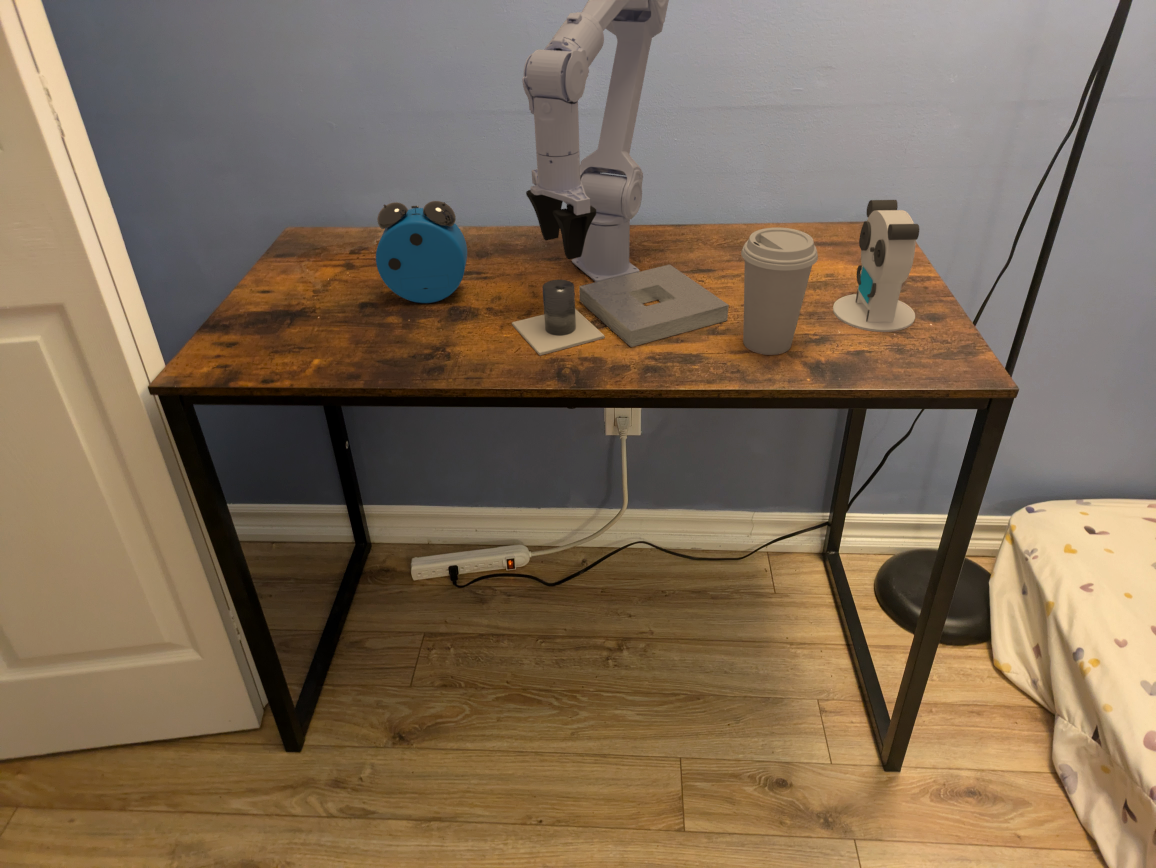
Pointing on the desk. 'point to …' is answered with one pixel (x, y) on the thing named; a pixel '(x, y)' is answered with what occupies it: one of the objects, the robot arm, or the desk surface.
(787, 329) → the coffee cup
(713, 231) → the desk surface
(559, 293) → the dark metal cylinder
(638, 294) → the housing block
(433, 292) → the alarm clock
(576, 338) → the rubber pad
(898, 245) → the panda figurine
